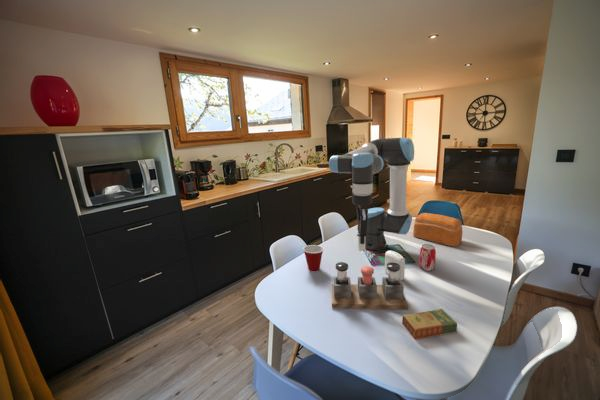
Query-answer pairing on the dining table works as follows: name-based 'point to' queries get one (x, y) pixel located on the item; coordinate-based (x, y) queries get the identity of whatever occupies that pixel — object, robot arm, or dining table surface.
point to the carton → (429, 324)
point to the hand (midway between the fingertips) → (361, 249)
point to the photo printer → (395, 258)
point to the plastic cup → (313, 256)
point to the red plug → (367, 275)
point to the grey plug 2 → (393, 273)
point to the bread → (438, 229)
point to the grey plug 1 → (342, 272)
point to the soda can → (427, 257)
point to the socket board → (368, 295)
